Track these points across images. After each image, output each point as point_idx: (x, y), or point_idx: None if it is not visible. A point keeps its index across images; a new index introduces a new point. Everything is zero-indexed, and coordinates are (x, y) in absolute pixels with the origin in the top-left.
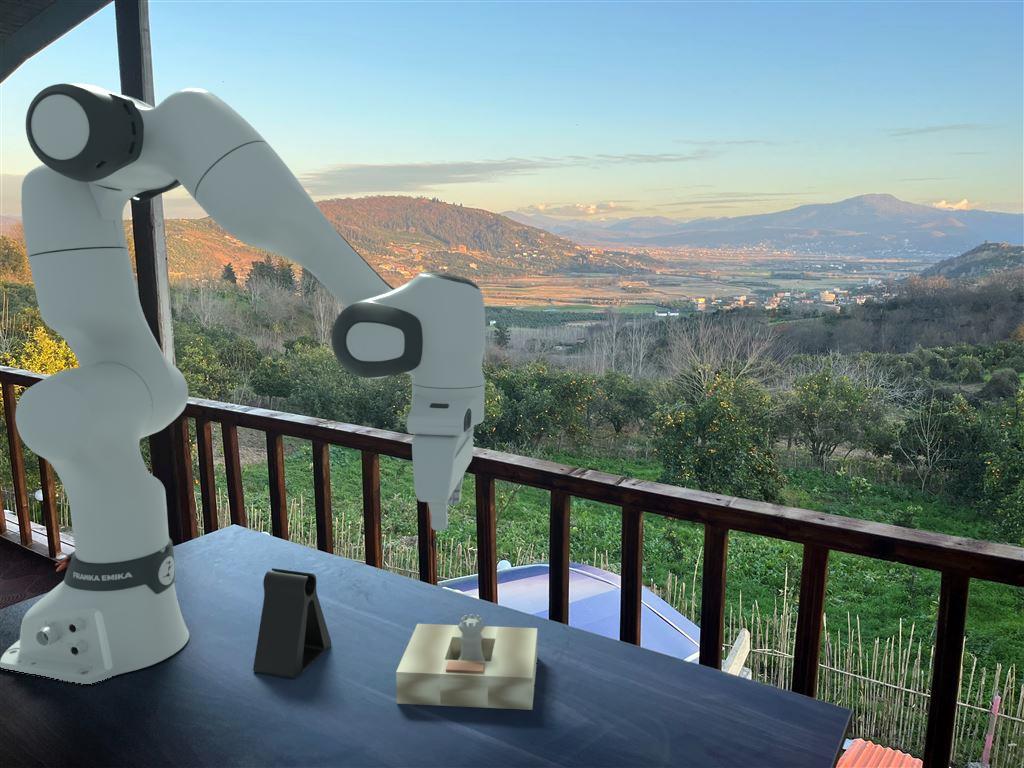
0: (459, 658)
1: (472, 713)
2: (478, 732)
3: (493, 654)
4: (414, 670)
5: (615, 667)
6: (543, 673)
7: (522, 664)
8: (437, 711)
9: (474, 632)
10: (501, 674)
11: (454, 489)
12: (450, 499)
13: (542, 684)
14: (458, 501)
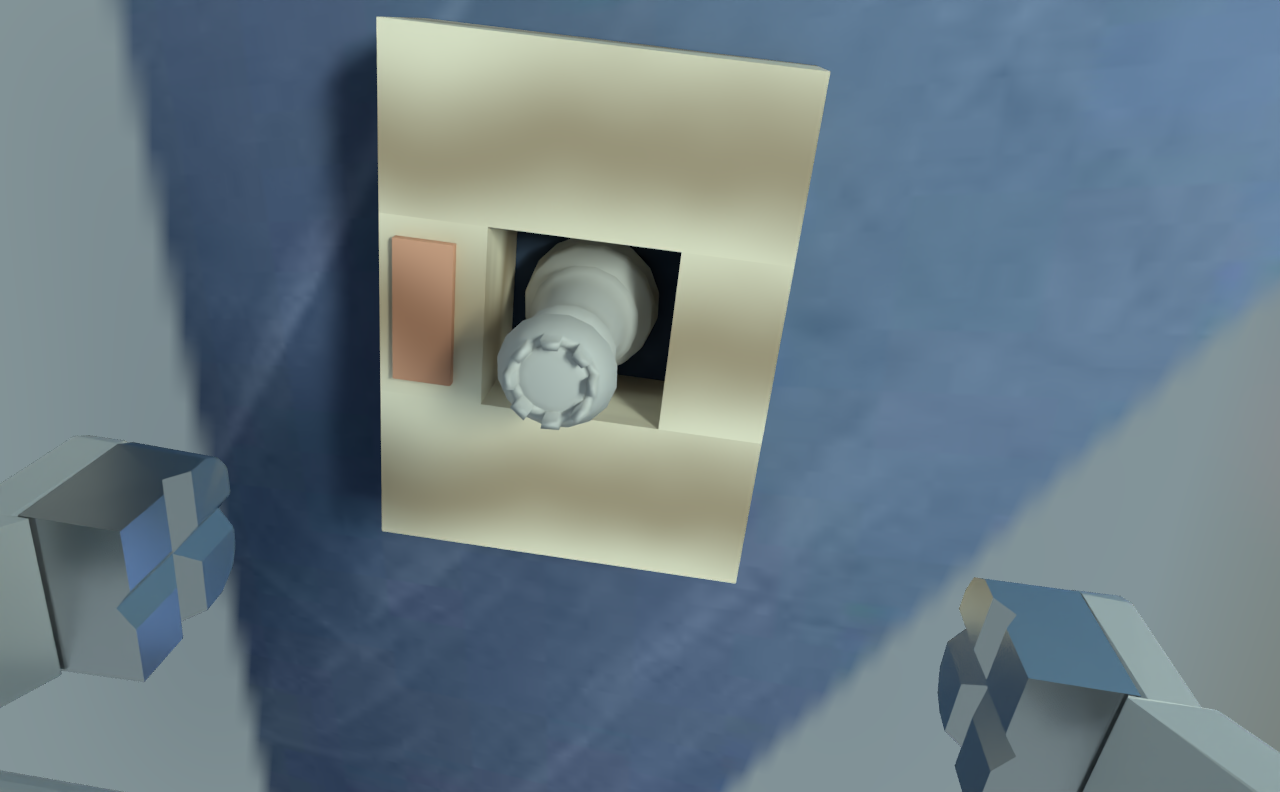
0: (590, 273)
1: None
2: (295, 315)
3: None
4: (394, 101)
5: (654, 720)
6: None
7: (465, 508)
8: None
9: (501, 383)
10: (393, 437)
11: (1095, 788)
12: (981, 654)
13: None
14: (944, 718)
